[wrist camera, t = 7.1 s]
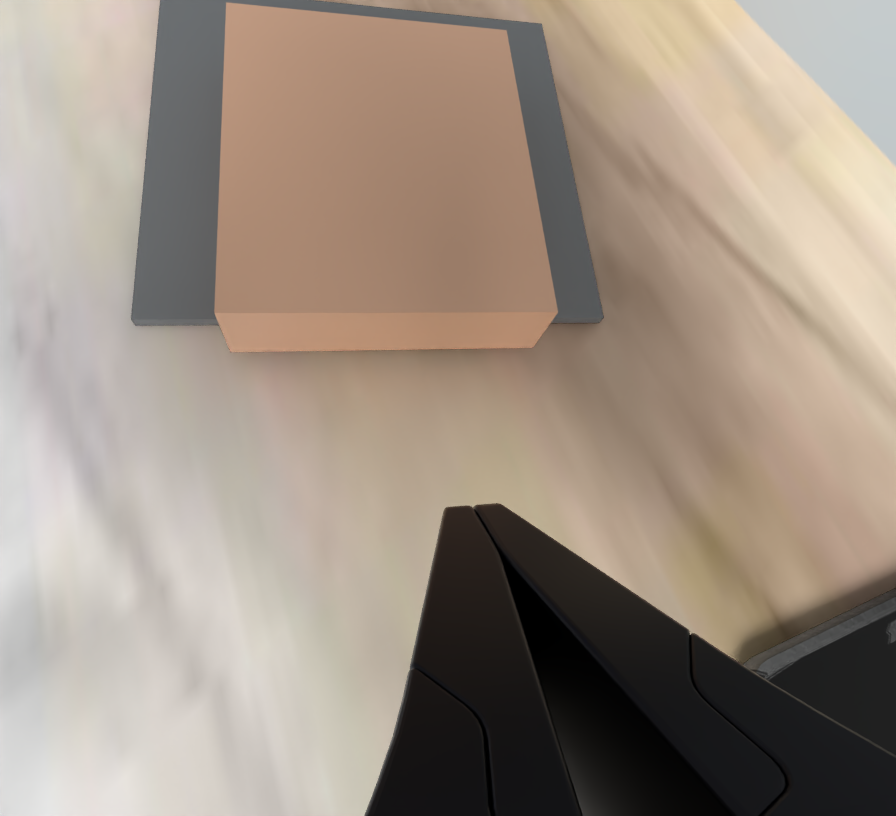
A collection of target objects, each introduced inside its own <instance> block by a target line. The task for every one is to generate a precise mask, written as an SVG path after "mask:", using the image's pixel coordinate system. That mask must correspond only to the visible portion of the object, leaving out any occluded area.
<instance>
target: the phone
mask: <svg viewBox="0 0 896 816" xmlns="http://www.w3.org/2000/svg"><path fill="white" fill-rule="evenodd" d="M743 665H744V666H745V667H747V668H748V669H750V670H751V671H753V672H754V673H756V674H758V675H759V676H761V677H762V678H764V679H765V680H767V681H769V682H770V683H772V684H774V685H775V686H777V687H779V688H781V689H782V690H784V691H786V692H787V693H789V694H791V695H792V696H794V697H796V698H797V699H799V700H801V701H802V702H804V703H806V704H807V705H809V706H811V707H812V708H814V709H816V710H818V711H819V712H821V713H823V714H825V715H826V716H828V717H830V718H831V719H833V720H835V721H837V722H838V723H840V724H842V725H844V726H845V727H847V728H849V729H851V730H852V731H854V732H856V733H858V734H859V735H861V736H863V737H865V738H866V739H868V740H870V741H872V742H873V743H875V744H877V745H878V746H880V747H882V748H884V749H885V750H887V751H889V752H891V753H892V754H894V755H896V588H895V589H893V590H891V591H888V592H886V593H884V594H882V595H880V596H878V597H876V598H874V599H872V600H870V601H868V602H866V603H864V604H862V605H859V606H857V607H855V608H853V609H851V610H849V611H847V612H845V613H843V614H841V615H839V616H837V617H835V618H832V619H830V620H828V621H826V622H824V623H822V624H820V625H818V626H816V627H814V628H812V629H810V630H808V631H805V632H803V633H801V634H799V635H797V636H795V637H793V638H791V639H789V640H787V641H785V642H783V643H781V644H778V645H776V646H774V647H772V648H770V649H768V650H766V651H764V652H762V653H760V654H758V655H756V656H754V657H752V658H750V659H749V660H748V661H746V662H745V663H744V664H743Z"/></svg>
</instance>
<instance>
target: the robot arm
mask: <svg viewBox="0 0 896 816" xmlns="http://www.w3.org/2000/svg"><path fill="white" fill-rule="evenodd" d="M365 816H896V755H894V754H892V753H891V752H889V751H887V750H885V749H884V748H882V747H880V746H878V745H877V744H875V743H873V742H872V741H870V740H868V739H866V738H865V737H863V736H861V735H859V734H858V733H856V732H854V731H852V730H851V729H849V728H847V727H845V726H844V725H842V724H840V723H838V722H837V721H835V720H833V719H831V718H830V717H828V716H826V715H825V714H823V713H821V712H819V711H818V710H816V709H814V708H812V707H811V706H809V705H807V704H806V703H804V702H802V701H801V700H799V699H797V698H796V697H794V696H792V695H791V694H789V693H787V692H786V691H784V690H782V689H781V688H779V687H777V686H775V685H774V684H772V683H770V682H769V681H767V680H765V679H764V678H762V677H761V676H759V675H758V674H756V673H754V672H753V671H751V670H750V669H748V668H747V667H745V666H744V665H742V664H740V663H739V662H737V661H736V660H734V659H733V658H731V657H730V656H728V655H726V654H725V653H723V652H722V651H720V650H719V649H717V648H716V647H714V646H713V645H711V644H710V643H708V642H707V641H705V640H704V639H702V638H701V637H699V636H698V635H696V634H694V633H692V634H691V635H690V632H689V630H688V629H687V628H685V627H684V626H682V625H681V624H680V623H678V622H677V621H675V620H674V619H672V618H671V617H669V616H668V615H666V614H665V613H663V612H662V611H660V610H659V609H657V608H656V607H654V606H653V605H651V604H650V603H648V602H647V601H645V600H644V599H642V598H641V597H639V596H638V595H636V594H635V593H633V592H632V591H630V590H629V589H627V588H626V587H624V586H623V585H621V584H620V583H618V582H617V581H615V580H614V579H612V578H611V577H609V576H608V575H606V574H605V573H603V572H602V571H600V570H599V569H597V568H596V567H594V566H593V565H591V564H590V563H588V562H587V561H585V560H584V559H582V558H581V557H579V556H578V555H576V554H575V553H573V552H572V551H570V550H569V549H567V548H566V547H564V546H563V545H561V544H560V543H559V542H557V541H556V540H554V539H553V538H551V537H550V536H548V535H547V534H545V533H544V532H542V531H541V530H539V529H538V528H536V527H535V526H533V525H532V524H530V523H529V522H527V521H526V520H524V519H523V518H521V517H520V516H518V515H517V514H515V513H514V512H512V511H511V510H509V509H508V508H506V507H505V506H503V505H501V504H497V503H496V504H483V505H475V506H474V507H473V508H472V507H471V506H455V507H446V508H445V509H444V512H443V516H442V521H441V525H440V530H439V534H438V539H437V544H436V548H435V553H434V558H433V562H432V567H431V571H430V576H429V581H428V585H427V590H426V595H425V599H424V604H423V608H422V613H421V618H420V622H419V627H418V632H417V636H416V641H415V645H414V650H413V655H412V659H411V664H410V671H409V672H408V676H407V681H406V685H405V690H404V695H403V699H402V703H401V707H400V711H399V714H398V718H397V722H396V726H395V730H394V734H393V737H392V740H391V743H390V746H389V749H388V752H387V755H386V758H385V761H384V764H383V766H382V769H381V772H380V775H379V778H378V781H377V784H376V787H375V789H374V792H373V795H372V797H371V800H370V802H369V805H368V808H367V810H366V813H365Z"/></svg>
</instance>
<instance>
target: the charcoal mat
mask: <svg viewBox="0 0 896 816" xmlns="http://www.w3.org/2000/svg"><path fill="white" fill-rule="evenodd" d="M226 2H227V3H237V4H248V5H258V6H268V7H278V8H288V9H298V10H308V11H318V12H328V13H338V14H349V15H359V16H369V17H379V18H389V19H399V20H409V21H419V22H429V23H439V24H450V25H460V26H470V27H480V28H490V29H500V30H507V35H508V41H509V46H510V52H511V57H512V63H513V68H514V74H515V79H516V84H517V90H518V95H519V101H520V106H521V112H522V117H523V123H524V128H525V134H526V139H527V145H528V150H529V156H530V161H531V167H532V172H533V178H534V183H535V188H536V194H537V199H538V205H539V210H540V216H541V221H542V227H543V232H544V238H545V243H546V249H547V254H548V260H549V265H550V271H551V276H552V281H553V287H554V292H555V298H556V303H557V309H558V313H557V315H556V316H555V317H554V319H553V320H552V322H551V323H599V322H600V321H601V320H602V319H603V318H604V316H603V312H602V307H601V302H600V297H599V293H598V288H597V283H596V278H595V274H594V269H593V264H592V260H591V255H590V250H589V245H588V241H587V236H586V231H585V226H584V222H583V217H582V212H581V207H580V203H579V198H578V193H577V189H576V184H575V179H574V174H573V170H572V165H571V160H570V155H569V151H568V146H567V141H566V137H565V132H564V127H563V122H562V118H561V113H560V108H559V103H558V99H557V94H556V89H555V84H554V80H553V75H552V70H551V66H550V61H549V56H548V51H547V47H546V42H545V37H544V32H543V28H542V24H538V23H529V22H519V21H509V20H499V19H490V18H480V17H470V16H460V15H451V14H441V13H431V12H421V11H412V10H402V9H392V8H382V7H373V6H363V5H353V4H343V3H334V2H324V1H314V0H160V8H159V19H158V30H157V41H156V52H155V63H154V74H153V85H152V96H151V107H150V118H149V129H148V140H147V151H146V161H145V172H144V183H143V194H142V205H141V216H140V227H139V238H138V249H137V260H136V271H135V282H134V293H133V304H132V315H131V320H132V322H133V323H134V324H135V326H138V325H219V323H218V321H217V318H216V316H215V314H214V308H215V282H216V255H217V229H218V203H219V177H220V151H221V124H222V98H223V72H224V46H225V20H226Z"/></svg>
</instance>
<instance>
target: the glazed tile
mask: <svg viewBox="0 0 896 816" xmlns="http://www.w3.org/2000/svg"><path fill="white" fill-rule="evenodd" d="M557 313H558V309H557V303H556V298H555V292H554V287H553V281H552V276H551V271H550V265H549V260H548V254H547V249H546V243H545V238H544V232H543V227H542V221H541V216H540V210H539V205H538V199H537V194H536V188H535V183H534V178H533V172H532V167H531V161H530V156H529V150H528V145H527V139H526V134H525V128H524V123H523V117H522V112H521V106H520V101H519V95H518V90H517V84H516V79H515V74H514V68H513V63H512V57H511V52H510V46H509V41H508V35H507V30H500V29H490V28H480V27H470V26H460V25H450V24H439V23H429V22H419V21H409V20H399V19H389V18H379V17H369V16H359V15H349V14H338V13H328V12H318V11H308V10H298V9H288V8H278V7H268V6H258V5H248V4H237V3H227V2H226V20H225V46H224V72H223V98H222V124H221V151H220V177H219V203H218V229H217V255H216V282H215V308H214V314H215V316H216V318H217V321H218V323H219V326H220V328H221V331H222V333H223V335H224V338H225V340H226V343H227V345H228V347H229V350H230V352H282V351H348V350H415V349H481V348H533V347H534V346H535V344H536V343H537V341H538V340H539V339H540V337H541V336H542V334H543V333H544V331H545V330H546V329H547V327H548V326H549V324H550V323H551V322H552V320H553V319H554V317H555V316H556V315H557Z"/></svg>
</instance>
